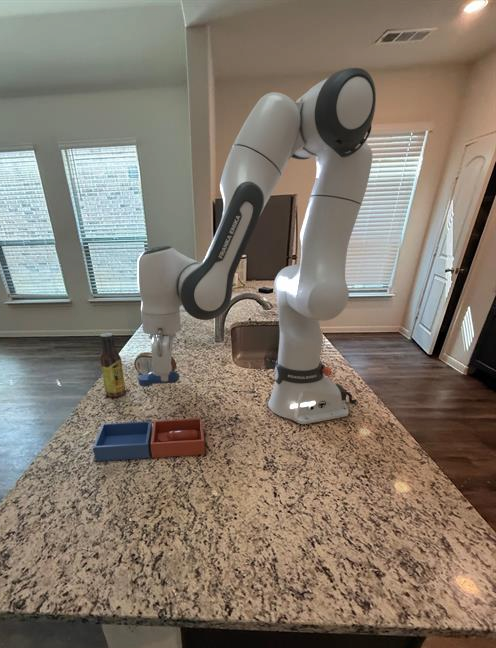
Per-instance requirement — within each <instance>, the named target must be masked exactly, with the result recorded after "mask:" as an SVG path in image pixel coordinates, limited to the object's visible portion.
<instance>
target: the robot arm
mask: <svg viewBox="0 0 496 648" xmlns="http://www.w3.org/2000/svg"><path fill="white" fill-rule="evenodd" d="M376 103H377V94H376V87H375V81H374V79H373V77H372V76H371V74H370V73H369V72H368V71H367V70H365V69H363V68H360V67H349V68H343V69H341V70H338V71H336V72H334V73H332V74H331V75H330V76H329V77H327V78H325V79H323V80H321V81H319V82H318V83H316V84H315V85H313V86H312V87H311V88H310V89H308V91H307V92H305V93H304V94H303V95H301V96H300V97H299V98H298V99H296V100H293V99H292V98H291V97H289V96H288V95H287V94H284V93H282V92H278V91H272V92H268V93H266V94H264V95H263V96H261V98H259V100H258V101H257V102H256V104H255V106H254V107H253V108H252V110H251V111H250V113H249V115H248V116H247V118H246V119H245V121H244V123H243V125H242V126H241V129H240V130H239V133H238V134H237V136H236V138H235V140H234V142H233V145H232V146H231V149H230V151H229V154H228V156H227V158H226V161H225V164H224V167H223V170H222V174H221V178H220V183H219V190H220V194H221V197H222V202H223V211H222V216H221V219H220V223H219V225H218V227H217V229H216V231H215V234H214V236H213V239H212V241H211V243H210V246H209V248H208V251H207V252H206V255H205V257H204V259H203V260H202V261H199V260H196V259H193V258H191V257H189V256H186V255H185V254H182V252H180V251H178V250H176V249H175V248H174V246H171V245H161V246H156V247H152V248H148V249H146V250H144V251H143V252H141V254H140V255H139V256H138V259H137V269H136V270H137V272H136V273H137V288H138V293H139V296H140V300H141V305H140V315H141V316H140V317H141V324H142V332H143V333H144V334H146V335H148V338H149V340H151V353H152V365H153V373H154V375H155V376H161V381H168V379H169V376H168V375H169V374H170V366H171V357H173V356H172V353H173V345H174V339H175V338H176V336H177V333H178V332H180V331H181V329H182V326H181V307H183V309H184V310H185V311H186V313H187V314H188V315H189V316H191V317H192V318H194V319H196V320H200V321H209V320H210V321H211V320H214V319H216V318H218V317H220V316H221V315H223V314H224V313H225V312H226V310H227V309H228V308H229V306H230V304H231V301H232V296H233V289H234V288H233V287H234V280H235V275H236V272H237V269H238V267H239V264H240V263H241V260H242V258H243V256H244V253H245V251H246V249H247V247H248V244H249V242H250V241H251V238H252V235H253V233H254V231H255V229H256V226H257V223H258V221H259V219H260V217H261V215H262V213H263V211H264V209H265V207H266V205H267V203H268V202H269V200H270V198H271V196H272V194H273V192H274V190H275V188H276V187H277V185H278V183H279V181H280V179H281V177H282V175H283V173H284V171H285V169H286V166H287V164H288V162H289V161H290V159H291V158H292V159H296V160H309V159H310V158H314V160H315V165H316V172H315V173H316V174H315V180H314V184H313V186H312V189H311V193H310V196H309V199H308V202H307V207H306V210H305V213H304V216H303V221H302V223H301V227H300V231H299V241H300V261H299V263H296V264H290V265H288V266H285V267H283V268H282V269H281V270H279V272H278V273H277V275H276V276H275V278H274V282H273V289H274V293H275V296H276V303H277V317H278V327H279V338H278V339H279V340H278V354H277V359H276V360H275V367H274V374H273V375H274V384H273V387H272V392H271V395H270V398H269V400H268V401H267V406H268V408H269V410H270V411H271V412H272V413H274V414H275V415H277V416H279V417H281V418H285V419H288V420H291V421H293V422H295V423H297V424H300V425H308V424H314V423H319V422H324V421H325V422H326V421H329V420H335V419H339V418H345V417H346V418H347V417H348V416H349V407H348V405H347V404H346V400H347V396H348V401H349V403H351V404H354V403H357V401H358V400H357V399H353V394H352V393H350V392H349V391H347V390H346V389H345V388H344V387H343V386H342V385H341V384H336V383H335V382H333V380H331V379H330V378H329V377H330V376H332V373H333V370H332V369H330V367H328V366H326V365H325V364H324V363H322V362H321V354H322V348H323V343H324V335H323V331H322V329H321V325H320V321H322V322H323V321H324V322H325V321H330V320H334V319H335V318H337V317H338V316H340V315H341V314H342V312H344V310H345V309H346V307H347V305H348V302H349V297H350V290H349V287H348V284H347V280H346V263H347V254H348V249H349V245H350V240H351V237H352V234H353V232H354V231H353V230H354V228H355V225H356V222H357V219H358V216H359V213H360V210H361V207H362V204H363V201H364V198H365V195H366V192H367V187H368V183H369V179H370V175H371V169H372V163H373V157H374V156H373V150H372V148H371V146H370V145H369V144H368V143H367V140H368V138H369V137H370V134H371V133H372V123H373V120H374V116H375V112H376Z"/></svg>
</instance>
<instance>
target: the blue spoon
mask: <svg viewBox="0 0 496 648" xmlns="http://www.w3.org/2000/svg"><path fill="white" fill-rule="evenodd" d="M168 376H169V379H168V381H161V376H155V375H154V373H153V372H151V373H149V374H143V375H142V374H140V375H138V377H137V379H138V385H139V386H140V387H150V386H152V385H153V384H154V385H157V384H176V383H177V382H179V380H180V374H179V373H178V372H177V371H176V370H175V371H170V374H169V375H168Z"/></svg>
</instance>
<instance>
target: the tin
mask: <svg viewBox="0 0 496 648" xmlns="http://www.w3.org/2000/svg"><path fill="white" fill-rule="evenodd" d="M133 365H134V369H135V370H136V372H137V373H138V374H140V375H143V374H149V373H151V372H153V365H152V352H140V353H139V354H138V355H137V356H136V358H135V359H134V363H133ZM176 370H177V362H176V360H175V358H174V357H173V356H171V366H170V371H175V372H176Z"/></svg>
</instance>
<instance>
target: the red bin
mask: <svg viewBox="0 0 496 648" xmlns="http://www.w3.org/2000/svg"><path fill="white" fill-rule="evenodd" d="M181 430H196V431H198V433H199V439H198V440H186V441H170V442H158V435H159V434H161V433H164V432H168V433H169V432H171V431H181ZM205 445H206V444H205V434H204V425H203V418H202V417H196V418H195V417H194V418H177V419H176V418H175V419H163V420H162V419H161V420H153V424H152V437H151V451H150V453H151V458H155V459H156V458H167V457H168V458H170V457H184V456H186V457H187V456H200V455H205V454H206V450H205V449H206V448H205Z"/></svg>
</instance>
